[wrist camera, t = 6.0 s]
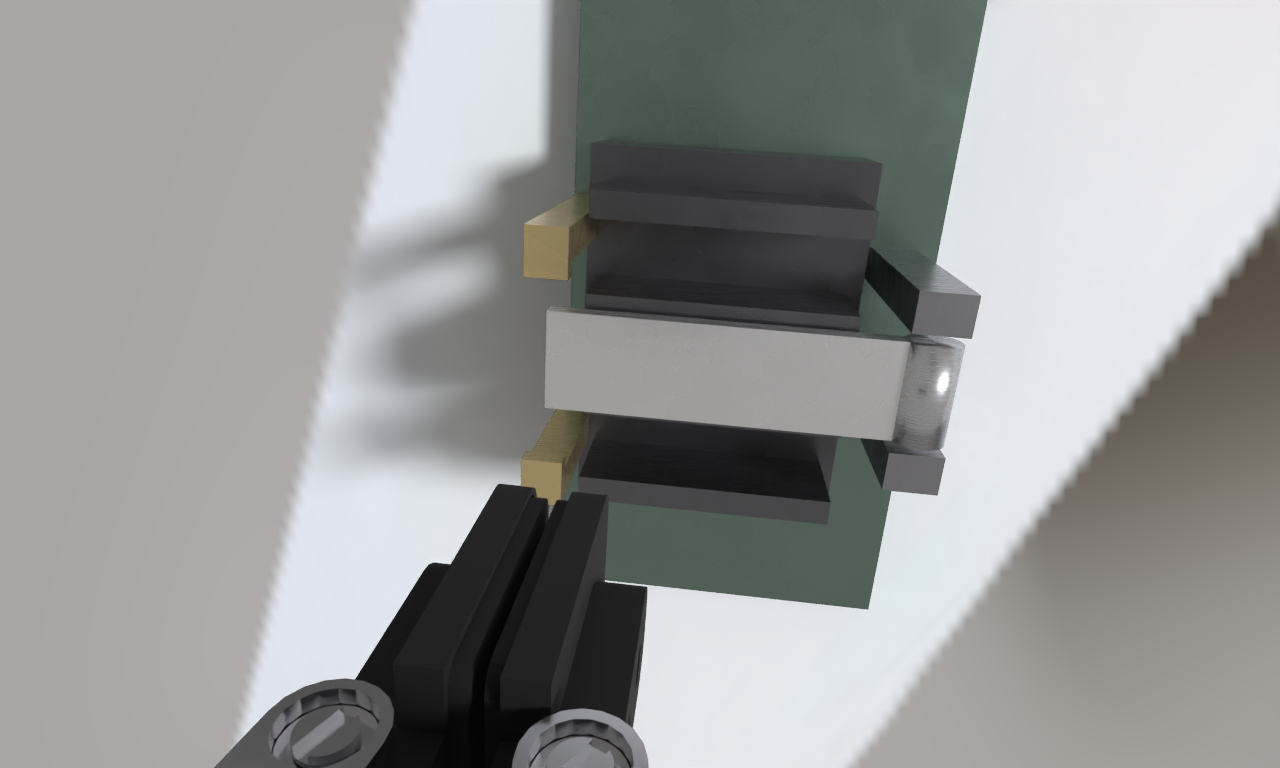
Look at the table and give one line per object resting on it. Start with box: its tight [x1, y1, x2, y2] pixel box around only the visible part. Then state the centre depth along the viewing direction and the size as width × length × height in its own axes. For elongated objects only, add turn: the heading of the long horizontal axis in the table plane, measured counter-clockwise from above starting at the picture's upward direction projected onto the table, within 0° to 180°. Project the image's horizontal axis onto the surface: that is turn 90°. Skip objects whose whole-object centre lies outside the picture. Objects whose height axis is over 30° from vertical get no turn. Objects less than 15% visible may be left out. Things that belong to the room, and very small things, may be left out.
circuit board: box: [521, 0, 987, 609], centre depth 25 cm, size 24×13×9 cm, turn 176°
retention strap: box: [544, 306, 965, 451], centre depth 22 cm, size 3×12×2 cm, turn 86°
